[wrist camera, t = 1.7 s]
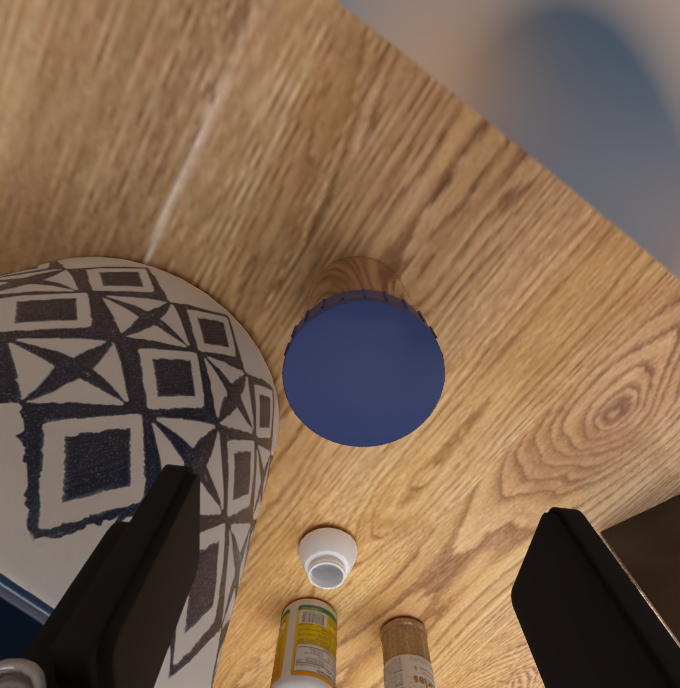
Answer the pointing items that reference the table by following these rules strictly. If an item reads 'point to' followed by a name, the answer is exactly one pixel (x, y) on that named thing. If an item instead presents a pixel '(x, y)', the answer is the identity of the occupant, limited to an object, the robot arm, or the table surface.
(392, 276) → the jar
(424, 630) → the spice jar
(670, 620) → the stand
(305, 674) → the supplement bottle
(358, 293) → the lid
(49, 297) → the planter
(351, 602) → the table surface
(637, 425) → the table surface
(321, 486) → the table surface
